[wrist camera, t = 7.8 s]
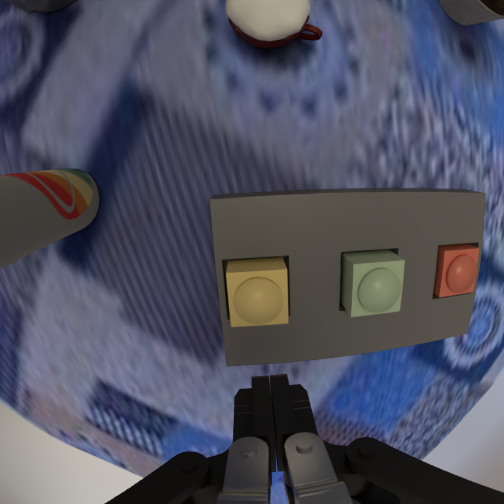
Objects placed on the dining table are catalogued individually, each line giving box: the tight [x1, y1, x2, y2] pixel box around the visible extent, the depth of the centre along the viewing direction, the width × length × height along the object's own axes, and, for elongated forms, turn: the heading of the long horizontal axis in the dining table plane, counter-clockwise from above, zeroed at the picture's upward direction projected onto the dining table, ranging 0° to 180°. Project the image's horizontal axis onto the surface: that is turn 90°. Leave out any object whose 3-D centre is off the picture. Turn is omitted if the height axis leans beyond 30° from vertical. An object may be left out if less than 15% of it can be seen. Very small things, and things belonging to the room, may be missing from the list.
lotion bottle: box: [0, 169, 99, 269], centre depth 16 cm, size 6×6×20 cm
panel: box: [210, 188, 486, 366], centre depth 27 cm, size 24×14×4 cm, turn 93°
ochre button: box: [226, 257, 288, 327], centre depth 24 cm, size 4×4×4 cm
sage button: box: [341, 250, 405, 317], centre depth 24 cm, size 4×4×4 cm
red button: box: [433, 243, 479, 297], centre depth 26 cm, size 4×4×4 cm
